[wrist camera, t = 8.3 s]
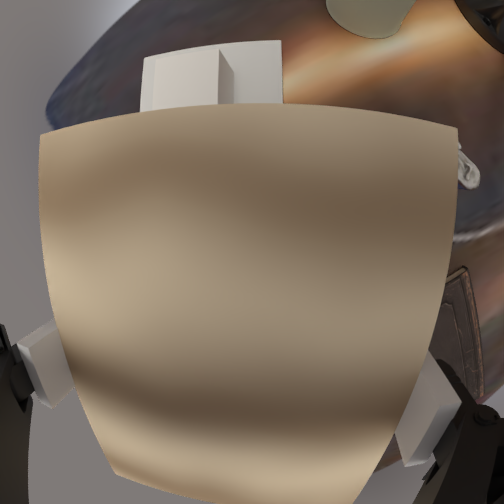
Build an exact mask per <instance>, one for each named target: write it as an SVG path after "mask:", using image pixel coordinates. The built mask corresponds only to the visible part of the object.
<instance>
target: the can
mask: <svg viewBox="0 0 504 504" xmlns="http://www.w3.org/2000/svg"><path fill="white" fill-rule="evenodd" d="M415 1H416V0H326V6H327V10H328V12H329V14H330V15H331V17H332V18H333V19H334V20H335V21H336V22H337V23H338V24H339V25H340V26H341V27H343V28H344V29H346V30H348V31H350V32H351V33H354V34H356V35H359V36H362V37H366V38H373V39H381V38H387V37H390V36H392V35H393V34H395V33H396V32H397V31H398V30H399V28H400V26H401V23H402V21H403V20H404V18H405V16H406V15H407V13H408V12H409V10H410V9H411V7H412V6H413V4H414V3H415Z"/></svg>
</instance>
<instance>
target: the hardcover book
mask: <svg viewBox="0 0 504 504" xmlns="http://www.w3.org/2000/svg"><path fill="white" fill-rule="evenodd" d="M428 351H429V352H430V354H431V355H432V357H433V358H434V359H442V360H444V361H445V362H446V363H448V364H449V365H450V366H451V367H452V368H453V369H454V371H455V372H456V374H457V376H458V377H459V378H460V379H461V383H463V384H464V385H465V387H466V388H467V390H468V391H469V393H470V394H471V396H472V397H473V399H474V400H476V399H478V398H479V397H481V396H482V395H483V394H484V393H485V383H484V365H483V353H482V343H481V335H480V327H479V320H478V314H477V308H476V303H475V297H474V292H473V288H472V283H471V279H470V274H469V270H468V268H467V267H465V266H463V265H462V268H461V269H460V270H458V271H457V272H455V273H454V274H452V275H450V276H449V277H447V278H446V282H445V287H444V292H443V296H442V300H441V305H440V309H439V313H438V316H437V320H436V324H435V327H434V331H433V334H432V338H431V341H430V344H429V347H428Z"/></svg>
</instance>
